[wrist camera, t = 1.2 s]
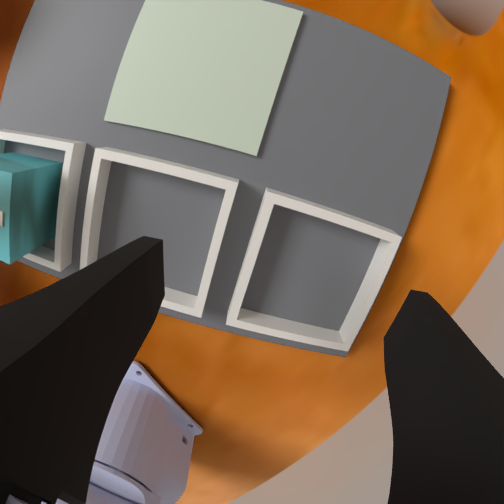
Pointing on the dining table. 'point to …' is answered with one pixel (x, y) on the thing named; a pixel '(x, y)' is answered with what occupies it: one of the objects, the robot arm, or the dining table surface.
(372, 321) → the dining table surface
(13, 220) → the teal letter cube
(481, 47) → the dining table surface
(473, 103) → the dining table surface
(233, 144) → the organizer board
